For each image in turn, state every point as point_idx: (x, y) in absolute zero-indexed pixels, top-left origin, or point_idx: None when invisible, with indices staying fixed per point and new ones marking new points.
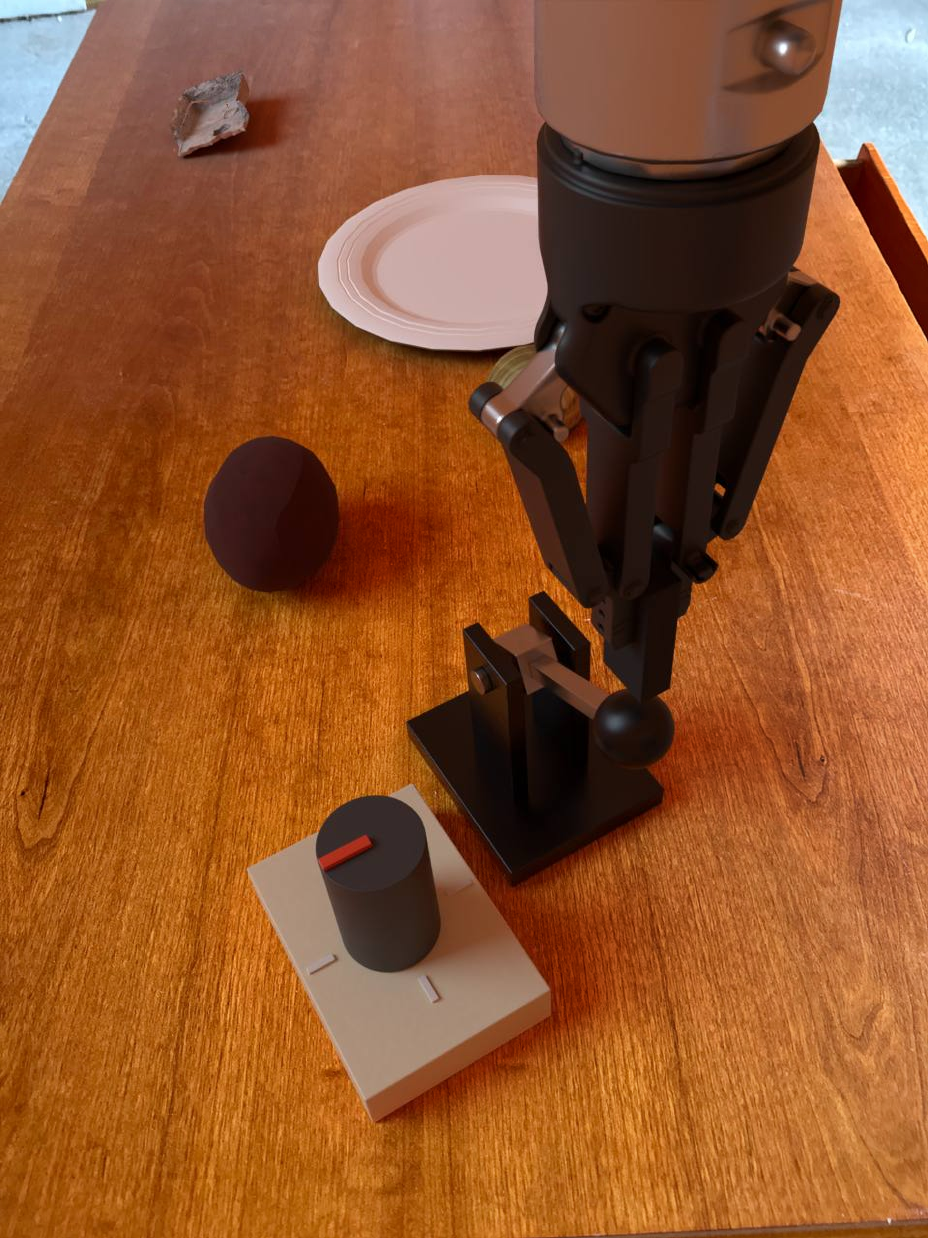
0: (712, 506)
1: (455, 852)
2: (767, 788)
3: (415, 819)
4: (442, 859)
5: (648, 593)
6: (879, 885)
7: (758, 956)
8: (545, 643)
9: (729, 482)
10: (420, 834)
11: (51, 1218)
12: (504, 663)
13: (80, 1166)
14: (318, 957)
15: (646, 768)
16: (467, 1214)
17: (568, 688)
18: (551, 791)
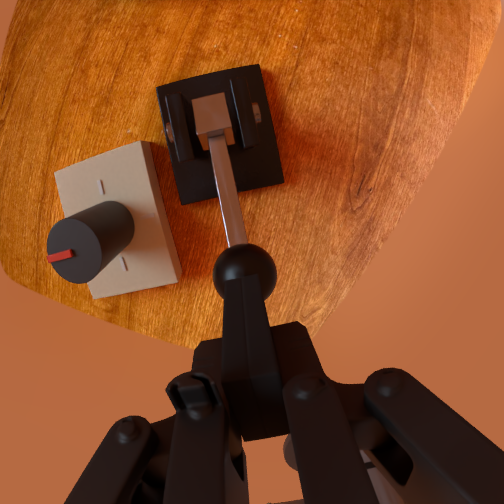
0: (379, 442)
1: (151, 193)
2: (337, 194)
3: (97, 245)
4: (143, 196)
5: (244, 440)
6: (353, 261)
7: (285, 275)
8: (225, 129)
9: (403, 490)
10: (99, 257)
11: (11, 278)
12: (184, 140)
13: (15, 265)
14: None
15: (280, 166)
16: (133, 327)
17: (219, 196)
18: None
